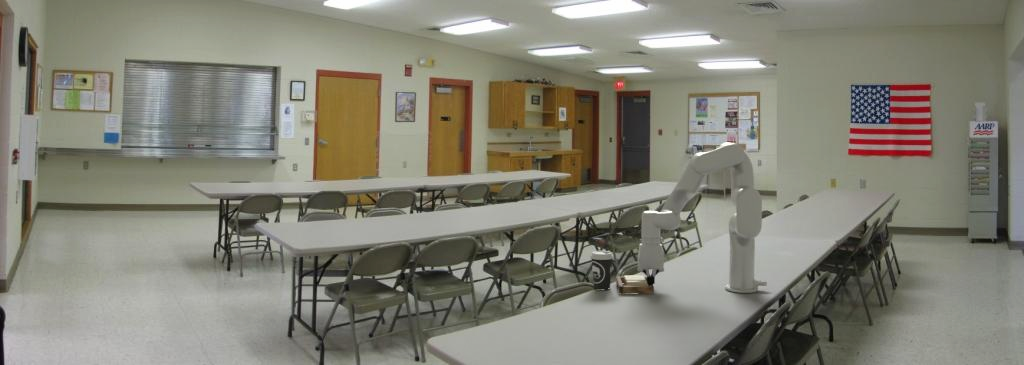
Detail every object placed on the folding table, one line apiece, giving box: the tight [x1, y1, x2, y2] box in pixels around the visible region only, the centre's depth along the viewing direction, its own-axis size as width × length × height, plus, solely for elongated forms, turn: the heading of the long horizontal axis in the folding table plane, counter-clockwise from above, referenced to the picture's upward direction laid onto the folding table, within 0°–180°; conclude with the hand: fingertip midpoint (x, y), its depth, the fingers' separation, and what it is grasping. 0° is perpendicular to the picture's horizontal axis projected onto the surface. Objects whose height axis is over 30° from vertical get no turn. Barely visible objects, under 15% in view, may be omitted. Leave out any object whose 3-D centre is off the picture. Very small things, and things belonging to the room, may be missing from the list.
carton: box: [623, 274, 648, 286], centre depth 270 cm, size 8×12×5 cm
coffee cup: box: [589, 250, 614, 291], centre depth 270 cm, size 10×10×15 cm
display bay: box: [615, 275, 655, 295], centre depth 269 cm, size 14×18×3 cm
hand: (650, 285), depth 269 cm, fingers closed
